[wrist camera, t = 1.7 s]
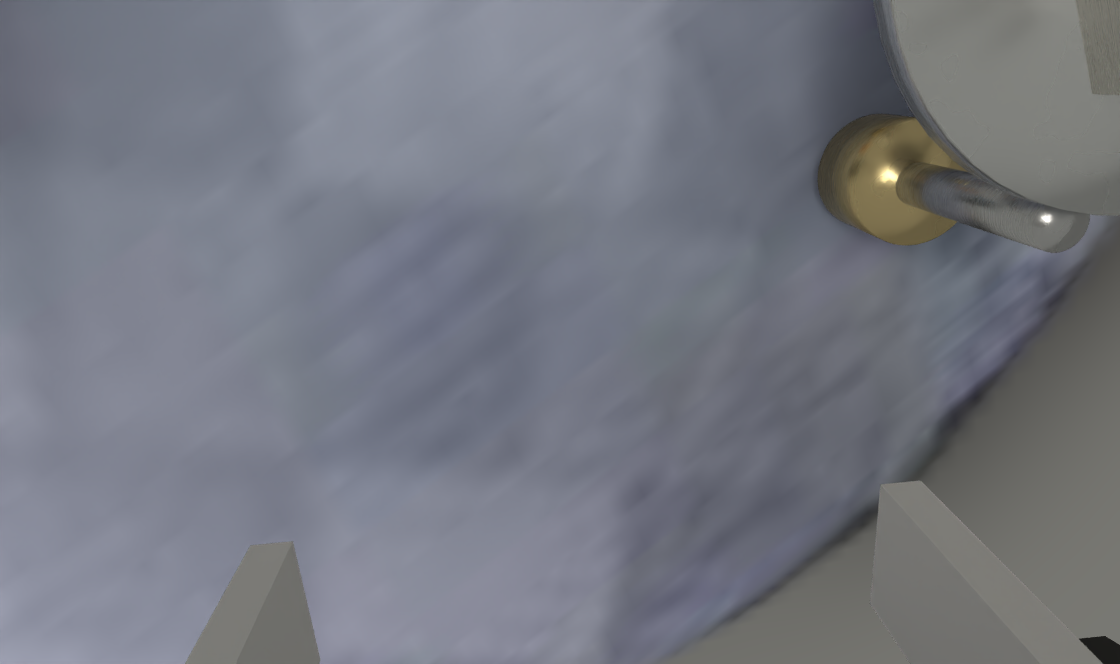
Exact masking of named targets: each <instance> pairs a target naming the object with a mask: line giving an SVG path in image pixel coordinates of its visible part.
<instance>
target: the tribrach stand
mask: <svg viewBox="0 0 1120 664" xmlns="http://www.w3.org/2000/svg"><path fill="white" fill-rule="evenodd" d="M873 4H874V9H875V14H876V19H877V24H878V29H879V34H880V39H881V43H882V46H883V49H884V52H885V55H886V58H887V61H888V64H889V67H890V69H891V72H892V75H893V78H894V80H895V82H896V84H897V86H898V88H899V90H900V92H901V94H902V96H903V98H904V100H905V101H906V103H907V105H908V107H909V109H910V111H911V112H912V113H913V115H914V116H915V117H908V116H899V115H890V114H872V115H868V116H864V117H861V118H858V119H856V120H854V121H852V122H851V123H849V124H848V125H846V126H845V127H843V128H842V129H841V130H840V131H839V132H838V133H837V134H836V135H835V136H834V137H833V138H832V140H831V141H830V142H829V144H828V145H827V147H826V149H825V151H824V153H823V155H822V158H821V161H820V165H819V170H818V189H819V193H820V196H821V199H822V201H823V203H824V205H825V206H826V208H827V209H828V210H829V212H830V213H831V214H832V215H833V216H835V217H836V218H837V219H839V220H840V221H842V222H844V223H846V224H849V225H851V226H853V227H855V228H857V229H860V230H862V231H864V232H866V233H868V234H871V235H873V236H875V237H877V238H879V239H882V240H884V241H886V242H889V243H892V244H897V245H916V244H920V243H925V242H927V241H930V240H932V239H934V238H936V237H938V236H940V235H942V234H943V233H945V232H946V231H948V230H949V229H950V228H951V227H952V226H953V225H954V224H955V223H956V222H960V223H963V224H966V225H969V226H972V227H975V228H978V229H981V230H984V231H987V232H990V233H993V234H996V235H999V236H1002V237H1004V238H1007V239H1010V240H1013V241H1016V242H1019V243H1022V244H1025V245H1028V246H1031V247H1034V248H1037V249H1040V250H1043V251H1046V252H1050V253H1057V252H1062V251H1065V250H1067V249H1069V248H1071V247H1073V246H1074V245H1075V244H1077V243H1078V242H1079V241H1080V240H1081V238H1082V237H1083V236H1084V234H1085V232H1086V230H1087V228H1088V225H1089V220H1090V214H1092V215H1108V216H1120V0H873Z"/></svg>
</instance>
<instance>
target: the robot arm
mask: <svg viewBox="0 0 1120 664" xmlns="http://www.w3.org/2000/svg"><path fill="white" fill-rule="evenodd" d="M870 605H871V606H872V608H873V609H874V611H875V612H876V614H877V615H878V617H879V618H880V620H881V621H882V623H883V624H884V626H885V627H886V629H887V630H888V632H889V633H890V635H891V636H892V638H893V639H894V641H895V642H896V643H897V645H898V647H899V648H900V650H901V651H902V653H903V654H904V655H905V657H906V659H907V660H908V661H909V663H910V664H1120V645H1119V644H1117V643H1116V642H1114V641H1112V640H1111V639H1109V638H1107V637H1106V636H1101V637H1091V638H1082V639H1078V638H1077V637H1076V636H1075V635H1074V634H1073V633H1072V632H1071V631H1070V630H1069V629H1068V628H1067V627H1066V626H1065V625H1064V624H1063V623H1062V622H1061V621H1060V620H1059V619H1058V618H1057V617H1056V616H1055V615H1054V614H1053V613H1052V612H1051V611H1050V610H1049V609H1048V608H1047V607H1046V606H1045V605H1044V604H1043V603H1042V602H1041V601H1040V600H1039V599H1038V598H1037V597H1036V596H1035V595H1034V594H1033V593H1032V592H1031V591H1030V590H1029V589H1028V588H1027V587H1026V586H1025V585H1024V584H1023V583H1022V582H1021V581H1020V580H1019V579H1018V578H1017V577H1016V576H1015V575H1014V574H1013V573H1012V572H1011V571H1010V570H1009V569H1008V568H1007V567H1006V566H1005V565H1004V564H1003V563H1002V562H1001V561H1000V560H999V559H998V558H997V557H996V556H995V555H994V554H993V553H992V552H991V551H990V550H989V549H988V548H987V547H986V546H985V545H984V544H983V543H982V542H981V541H980V540H979V539H978V538H977V537H976V536H975V535H974V534H973V533H972V532H971V531H970V530H969V529H968V528H967V527H966V526H965V525H964V524H963V523H962V522H961V521H960V520H959V519H958V518H957V517H956V516H955V515H954V514H953V513H952V512H951V511H950V510H949V509H948V508H947V507H946V506H945V505H944V504H943V503H942V502H941V501H940V500H939V499H938V498H937V497H936V496H935V495H934V494H933V493H932V492H931V491H930V490H929V489H928V488H927V487H926V486H925V485H924V484H923V483H922V482H921V481H912V482H901V483H891V484H881V485H880V496H879V508H878V519H877V530H876V541H875V553H874V564H873V576H872V587H871V598H870ZM319 663H320V656H319V652H318V648H317V643H316V639H315V635H314V630H313V626H312V622H311V617H310V613H309V609H308V605H307V600H306V596H305V592H304V587H303V583H302V579H301V575H300V570H299V566H298V562H297V557H296V553H295V549H294V544H293V541H291V542H281V543H271V544H260V545H250V547H249V549H248V551H247V552H246V554H245V556H244V558H243V560H242V562H241V563H240V565H239V567H238V569H237V571H236V572H235V574H234V576H233V578H232V580H231V581H230V583H229V585H228V587H227V589H226V590H225V592H224V594H223V596H222V598H221V599H220V601H219V603H218V605H217V607H216V608H215V610H214V612H213V614H212V616H211V618H210V619H209V621H208V623H207V625H206V627H205V628H204V630H203V632H202V634H201V636H200V637H199V639H198V641H197V643H196V645H195V646H194V648H193V650H192V652H191V654H190V655H189V657H188V659H187V661H186V663H185V664H319Z"/></svg>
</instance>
